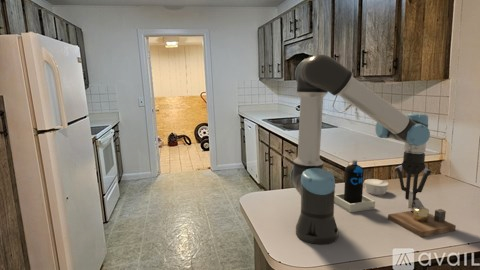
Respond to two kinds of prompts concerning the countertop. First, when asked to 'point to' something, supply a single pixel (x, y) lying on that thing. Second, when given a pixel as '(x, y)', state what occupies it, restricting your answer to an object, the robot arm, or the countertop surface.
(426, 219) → the crank lever
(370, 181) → the ramekin
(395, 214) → the crank base
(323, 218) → the robot arm
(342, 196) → the tray
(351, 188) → the aerosol can
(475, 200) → the countertop surface
